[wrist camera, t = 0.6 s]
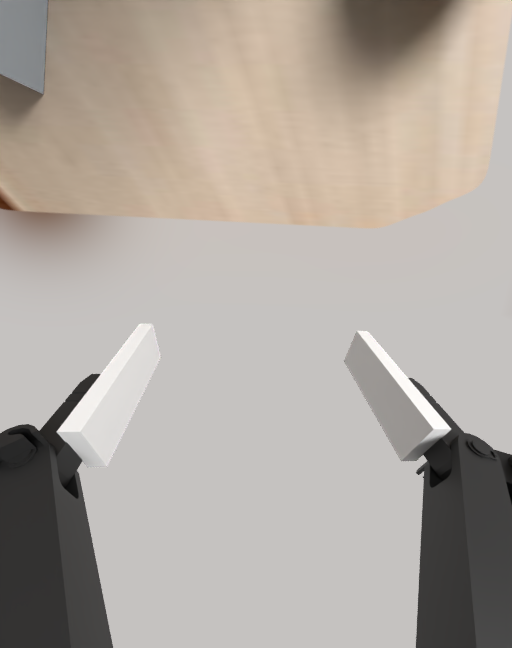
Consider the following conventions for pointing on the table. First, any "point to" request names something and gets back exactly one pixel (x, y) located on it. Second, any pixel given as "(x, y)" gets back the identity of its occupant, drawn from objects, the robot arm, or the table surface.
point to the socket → (23, 41)
